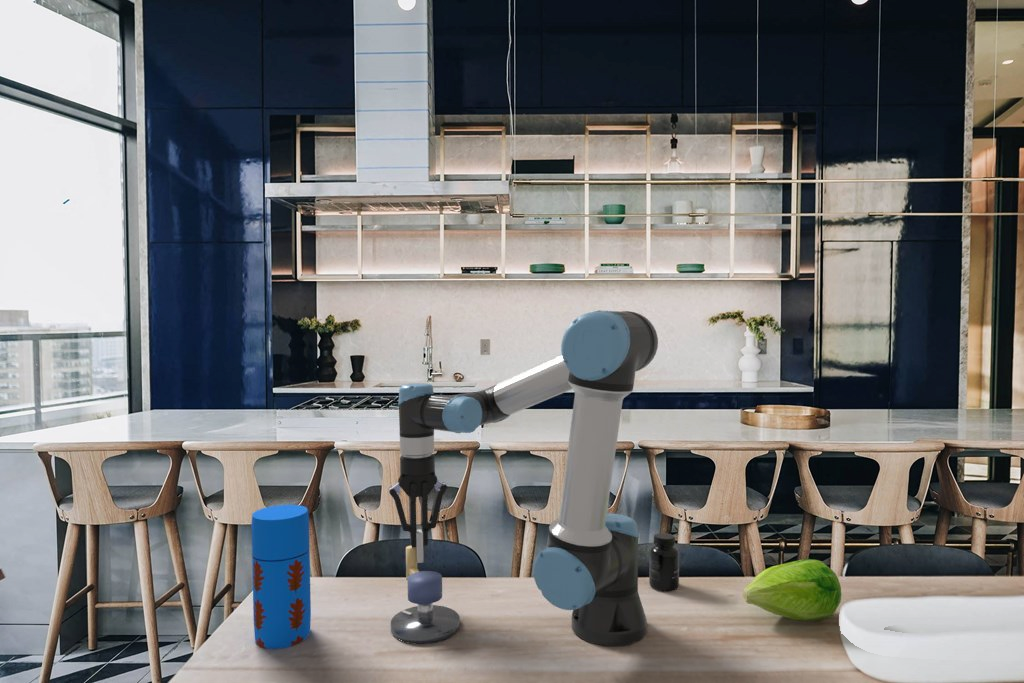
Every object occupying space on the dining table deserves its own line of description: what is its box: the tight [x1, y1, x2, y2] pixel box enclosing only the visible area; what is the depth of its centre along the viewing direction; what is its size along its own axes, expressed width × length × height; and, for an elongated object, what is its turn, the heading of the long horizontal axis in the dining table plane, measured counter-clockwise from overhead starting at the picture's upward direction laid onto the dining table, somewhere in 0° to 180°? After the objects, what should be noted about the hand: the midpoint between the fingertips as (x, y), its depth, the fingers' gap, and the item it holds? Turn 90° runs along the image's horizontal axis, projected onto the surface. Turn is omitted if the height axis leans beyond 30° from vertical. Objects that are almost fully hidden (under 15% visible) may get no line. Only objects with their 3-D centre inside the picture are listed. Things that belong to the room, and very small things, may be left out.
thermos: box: [251, 504, 312, 650], centre depth 131 cm, size 11×11×25 cm
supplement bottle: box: [648, 532, 680, 593], centre depth 154 cm, size 7×7×12 cm
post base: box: [390, 603, 461, 645], centre depth 135 cm, size 14×14×6 cm
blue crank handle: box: [405, 545, 443, 605], centre depth 138 cm, size 16×7×7 cm, turn 23°
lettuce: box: [742, 558, 842, 622], centre depth 137 cm, size 14×20×12 cm
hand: (419, 560), depth 145 cm, fingers closed
